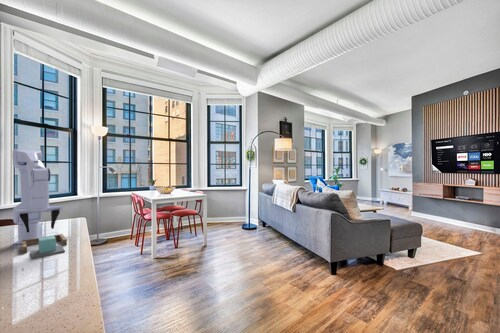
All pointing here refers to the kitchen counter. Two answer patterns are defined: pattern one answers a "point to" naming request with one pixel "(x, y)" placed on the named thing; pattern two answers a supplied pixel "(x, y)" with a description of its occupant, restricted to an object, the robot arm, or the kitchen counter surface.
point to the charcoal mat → (37, 254)
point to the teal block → (47, 244)
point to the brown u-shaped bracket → (36, 241)
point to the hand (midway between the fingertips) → (40, 230)
